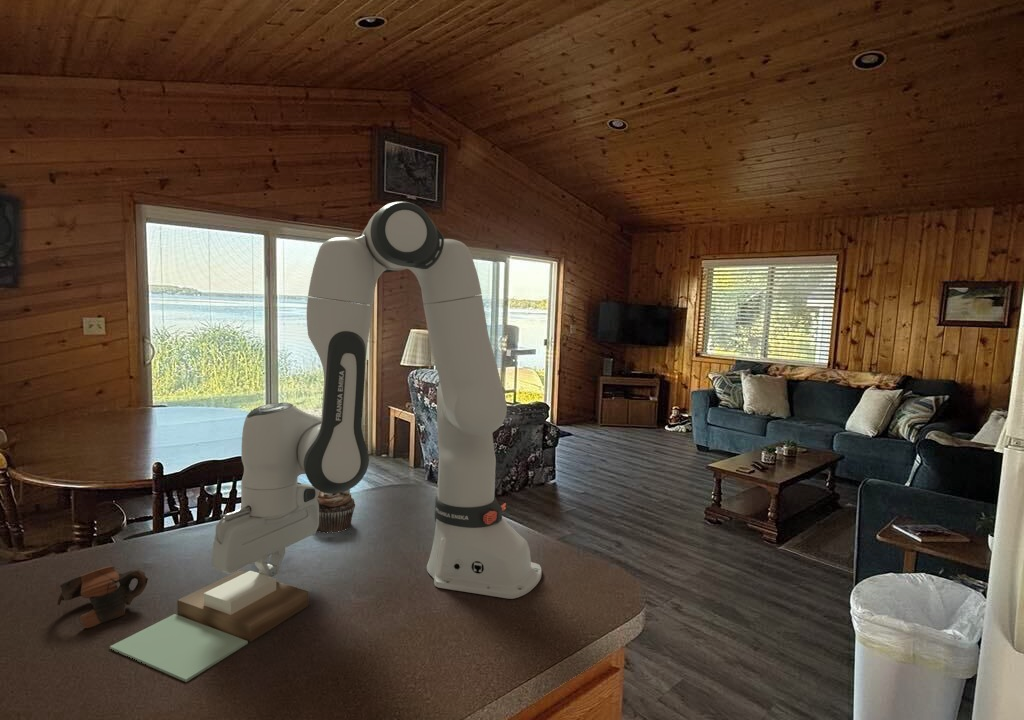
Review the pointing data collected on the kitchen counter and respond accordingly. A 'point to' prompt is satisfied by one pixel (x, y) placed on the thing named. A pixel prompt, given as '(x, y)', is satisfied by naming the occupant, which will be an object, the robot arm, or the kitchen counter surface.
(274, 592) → the board
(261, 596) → the cream rectangular block
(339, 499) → the cupcake
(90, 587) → the pottery mug
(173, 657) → the mat
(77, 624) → the kitchen counter surface
